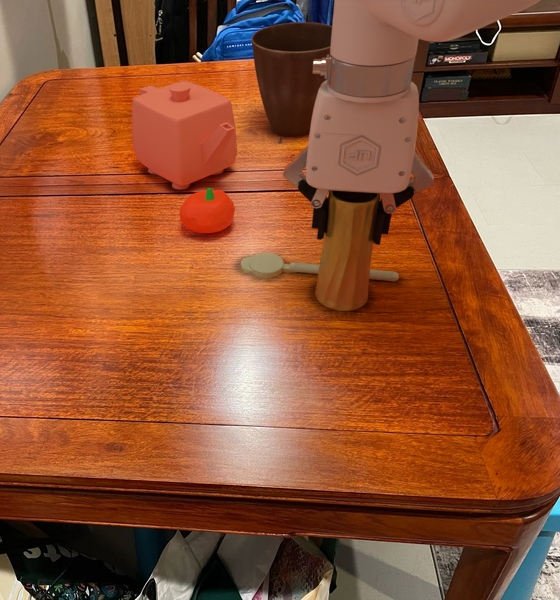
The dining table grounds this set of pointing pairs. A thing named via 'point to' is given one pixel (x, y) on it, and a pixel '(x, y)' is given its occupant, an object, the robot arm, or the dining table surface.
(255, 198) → the dining table surface
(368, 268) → the vase
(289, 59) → the flower pot
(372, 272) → the spoon
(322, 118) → the robot arm
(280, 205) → the dining table surface
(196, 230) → the pumpkin
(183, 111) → the teapot
